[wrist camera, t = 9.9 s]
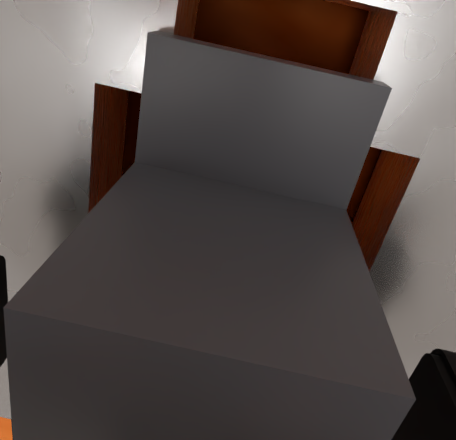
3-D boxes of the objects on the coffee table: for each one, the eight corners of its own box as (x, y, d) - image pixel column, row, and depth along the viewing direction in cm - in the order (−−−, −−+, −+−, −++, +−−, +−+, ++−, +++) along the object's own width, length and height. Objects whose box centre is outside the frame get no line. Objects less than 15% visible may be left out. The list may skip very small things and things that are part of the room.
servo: (183, 25, 10) (-240, 103, 2) (358, 65, 10) (757, 325, 2) (137, 363, 16) (-20, 773, 7) (251, 389, 16) (226, 826, 7)
